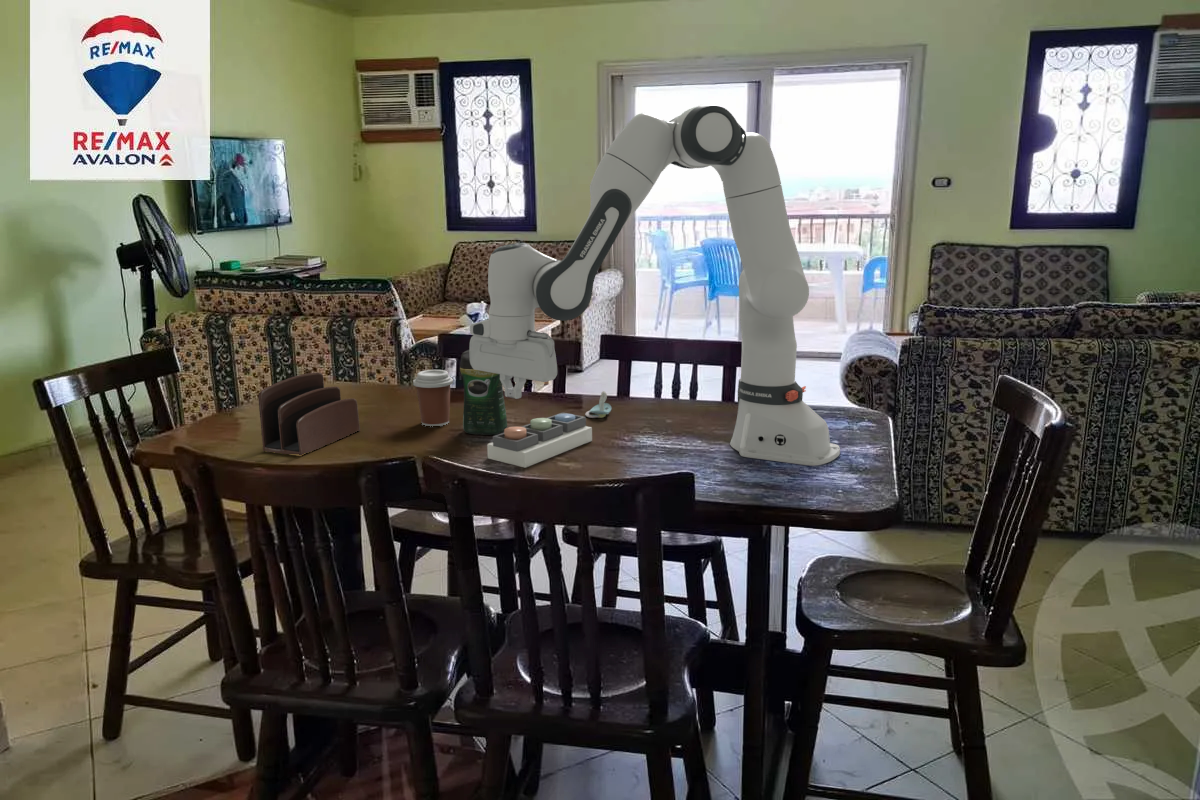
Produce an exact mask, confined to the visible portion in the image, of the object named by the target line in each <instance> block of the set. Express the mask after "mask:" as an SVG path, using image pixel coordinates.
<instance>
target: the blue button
mask: <svg viewBox="0 0 1200 800" xmlns="http://www.w3.org/2000/svg"><path fill="white" fill-rule="evenodd" d="M557 414H558V415H557ZM557 414H554V415H555V420H557V421H562V422H570V421H573V420H575V415H576V414H572V413H568V414H560V413H557Z"/></svg>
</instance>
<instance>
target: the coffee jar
mask: <svg viewBox="0 0 1200 800" xmlns="http://www.w3.org/2000/svg"><path fill="white" fill-rule="evenodd" d="M459 365H460V366H459V372H460V374H461V377H462V381H463V413H462V415H463V416H462V417H463V418H462V428H463V432H465V433H467V434H472V435H482V436H488V435H490V436H491V435H498V434H501V433H504V429H506V428H508V419H507V418H508V417H507V410H506V404H505V403H506V402H505V398H504V396H505V395H504V387H503V385H502V383H501V381H500V374H496V373H491V372H485V371H480V370H474V369H473V368H472V366H471V364H470V353H469V349H467V350H465V351H464V352H462V353H461V357H460V363H459Z"/></svg>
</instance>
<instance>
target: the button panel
mask: <svg viewBox="0 0 1200 800" xmlns="http://www.w3.org/2000/svg"><path fill="white" fill-rule="evenodd" d="M558 414H569V413H567V412H560V413H557V414H554V415H552V416H548V417H547V418H548V419H551V420H552V428H550V429H548V430H545V431H539V430H535V429H531V424H530V423H527V424H524V425H522V426H521V427H524V428H526V435H527V437H525V438H523V439H520V440H512V439H507V438H505V437H504V432H502V433H498V434H494V435H493V436H492V442H489V443H487V459H489V460H493V461H498V462H501V463H505V464H509V465H513V466H516V467H521V468H528V467H531V466H533V465H535V464H538V463H540V462H543V461H546V460H548V459H550V458H553V457H556V456H558V455H560V454H562V453H565V452H568V451H570V450H572V449H576V448H577V447H581V446H582V445H585V444H588V443H591V442H593V427H592V426H587V418H586V417H587V416H583V415H578V414H574V415H575V420H573V421H570V422H562V421H557V420H555V415H558Z"/></svg>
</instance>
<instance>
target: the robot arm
mask: <svg viewBox="0 0 1200 800" xmlns="http://www.w3.org/2000/svg"><path fill="white" fill-rule="evenodd" d="M669 165H674V166H677V167H679V168H684V169H691V170H692V169H702V168H707V167H712V168H713V169H714V170H715V171H716V172H717V173H718V176H719V177H720V180H721V182H722V188H723V193H724V198H725V199H724V200H725V204H726V208H727V213H728V218H729V223H730V227H731V232H732V237H733V240H734V244H736V245H735V246H736V248H737V251H738V254H739V258H740V261H741V264H742V268H743V269H742V271H741V273H740V275H739V279H738V291H739V292H738V293H739V294H738V295H739V296H738V297H739V317H740V318H739V319H740V321H739V322H740V332H741V358H740V359H741V360H740V361H741V362H740V364H741V365H740V378H739V379H738V385H737V405H738V409H737V417H736V421H735V426H734V430H733V434H732V436H731V440H730V443H729V444H730V446H731V448H733V449H734V450H736V451H737V452H739V455H740V456H741V457H744V458H751V459H758V460H767V461H772V462H773V461H775V462H781V463H789V464H796V465H801V466H811V467H812V466H821V465H825V464H827V463H830V462H832V461H834V460H835V459H837V458H838V457H839V456H840V454H841V448H840V446H839V445H838V444H835V443H831V442H830V440H831V439H830V431H829V425H828V423H827V422H826V421H825V419H823V418H822V417H821V416H820V415H819V414H818V413H816V412H815V411H814V410H813V409H812V408H811V407H810V406H809V405H808V404H806V402H804V401H803V397H804V393H805V392H807V390H806V389H807V386H805V385H804V386H802V387H801V386H800V385H799V384H798V383H797V381H796V364H797V348H798V347H797V346H798V344H797V339H796V334H795V324H794V316H796V315H798V314H799V313H800V312H802V310H803V309H804V308H805V306H806V305H807V303H808V302H809V301H808V300H809V296H810V287H809V284H808V281H807V278H806V276H805V272H804V269H803V265H802V261H801V257H800V255H799V254H800V253H799V251H798V248H797V245H796V243H795V239H794V235H793V234H792V230H791V226H790V223H789V222H790V221H789V219H788V218H789V217H788V213H787V208H786V207H787V206H786V202H785V196H784V193H783V186H782V181H781V176H780V174H779V173H780V172H779V168H778V165H777V161H776V160H775V156H774V153H773V151H772V148H771V146H770V143H769V141H768V139H767V138H766V137H765V136H763V134H760V133H757V132H752V131H751V132H746V131H745V130H744V129H743V127H742V126H741V125H740V124H739V123H738V121H737V120H736V118H735V117H734V115H733V114H732V113H731V112H730V111H729V110H728V109H727V108H726V107H723V106H722V105H720V104H716V103H715V104H714V103H703V104H700V105H698V106H694V107H691V108H689V109H687V110H685V111H684V112H682V113H681V114H680V115H679V116H676V117H674V118H673V119H671V120H670V121H667V120H665V119H663V118H662V117H660V116H659V115H656V114H653V113H648V112H641V113H639V114H635V116H633V117H632V118H631V120H629V121H628V122H627V124H625V126H624V127H623V129H622V130H621V131H620V132H619V133H618V134H617V135H616V137H615V138H614V140H612V142H611V144H610V145H609V146H608V148H607V150H606V151H605V153H604V155H603V156H602V158H601V159H600V161H599V163H598V165H597V167H596V169H595V171H594V174H593V176H592V178H591V181H590V183H589V196H590V207H589V213H588V216H587V219H586V220H585V222H584V224H583V226H582V228H581V230H580V232H579V233H578V235H577V236H576V238H575V240H574V242H573V244H572V245H571V247H570V249H568V251H567V253H566V254H565V257H563V258H562V259H561V260H560V259H556V258H553V257H551V256H548V255H547V254H544V253H542V252H540V251H539V250H537V249H536V248H534V247H532V246H531V245H530V243H527V242H519V243H518V242H517V243H515V242H514V243H510V244H509V243H508V244H505V245H500V246H498V247H496V248H495V249H494V250H493V251H492V253H491V254H490V257H489V261H488V271H487V272H488V273H487V275H488V276H487V285H488V286H487V291H488V295H489V299H490V305H489V309H488V318H487V319H484V320H482V321H477V322H474V323H472V324H470V325H469V332H470V333H469V334H470V335H472V336H471V337H470V339H469V349H468V350H469V353H470V364H471V366H472V368H473V369H474V370H480V371H485V372H491V373H496V374H500V381H501V383H502V386H503V389H504V396H505V397H507V398H511V399H516V400H517V399H521V398H522V389H523V387H524V386H525V384H526V382H527V380H530V381H536V382H541V383H546V382H547V383H548V382H551V381H553V380H555V379H556V377H557V375H558V364H557V363H558V362H557V357H556V356H557V355H556V351H555V340H554V339H553V338H552V337H551V335H549V334H548V333H547V332H538V331H536V330H535V329H536V327H535V325H536V322H535V320H536V319H535V312H536V311H535V310H536V309H537V308H539V309H540V310H541V311H542V313H544V314H545V315H546V316H548V317H549V318H551V319H553V320H555V321H564V322H565V321H571V320H574V319H576V318H578V317H580V316H581V315H582V314H583V313H584V312H585V311H586V310H587V308H588V307H589V305H590V303H591V300H592V296H593V289H594V283H595V279H596V276H597V273H598V271H599V269H600V267H601V265H602V264H603V262H604V260H605V259H606V257H607V255H608V253H609V251H610V250H611V249H612V247H613V245H614V243H615V241H616V240H617V238H618V236H619V234H620V233H621V231H622V229H623V228H624V226H625V225H626V224H627V223H628V221H629V220H630V218H631V217H632V216H633V214H634V213H635V212H636V211H637V210H638V208H639V207H640V206H641V205H642V203H643V202H644V200H645V199H646V198H647V197H648V195H649V193H650V192H651V190H652V189H653V187H654V186H655V184H656V183H657V181H658V179H659V177H660V175H661V174H662V173H663V171H664V170H665V169H666V168H668V166H669ZM512 378H513V382H514V383H515V384H514V386H513V383H512Z"/></svg>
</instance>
